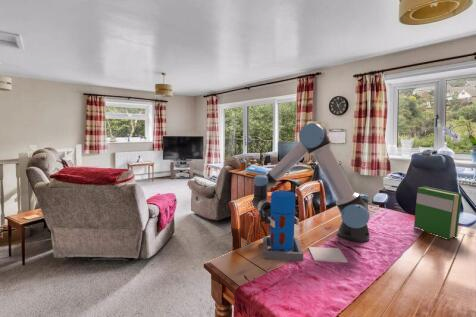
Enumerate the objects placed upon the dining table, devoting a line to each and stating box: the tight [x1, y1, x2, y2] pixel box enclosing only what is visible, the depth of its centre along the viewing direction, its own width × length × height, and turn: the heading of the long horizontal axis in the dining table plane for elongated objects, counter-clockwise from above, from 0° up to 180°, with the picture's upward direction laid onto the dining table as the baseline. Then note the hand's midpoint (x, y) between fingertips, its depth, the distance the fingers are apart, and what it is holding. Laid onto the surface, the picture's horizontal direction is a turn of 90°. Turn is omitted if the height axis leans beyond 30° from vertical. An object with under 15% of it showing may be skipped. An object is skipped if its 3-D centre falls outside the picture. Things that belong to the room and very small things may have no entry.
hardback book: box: [413, 186, 463, 239], centre depth 142 cm, size 18×7×24 cm, turn 24°
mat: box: [308, 246, 349, 264], centre depth 116 cm, size 14×12×1 cm
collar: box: [262, 236, 304, 262], centre depth 119 cm, size 16×16×3 cm
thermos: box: [269, 190, 296, 252], centre depth 117 cm, size 11×11×25 cm
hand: (286, 223), depth 114 cm, fingers closed on thermos, 11 cm apart
